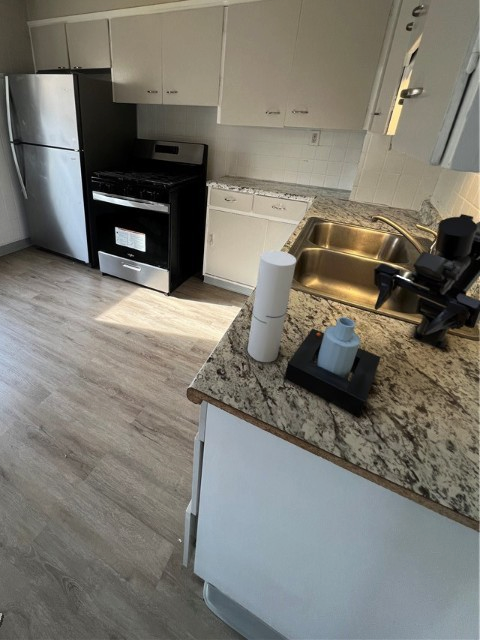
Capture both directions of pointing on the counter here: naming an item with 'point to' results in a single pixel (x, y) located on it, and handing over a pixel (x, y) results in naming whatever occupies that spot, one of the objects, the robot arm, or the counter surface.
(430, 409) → the counter surface
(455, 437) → the counter surface
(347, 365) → the vase
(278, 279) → the cylindrical container
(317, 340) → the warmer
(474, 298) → the robot arm
